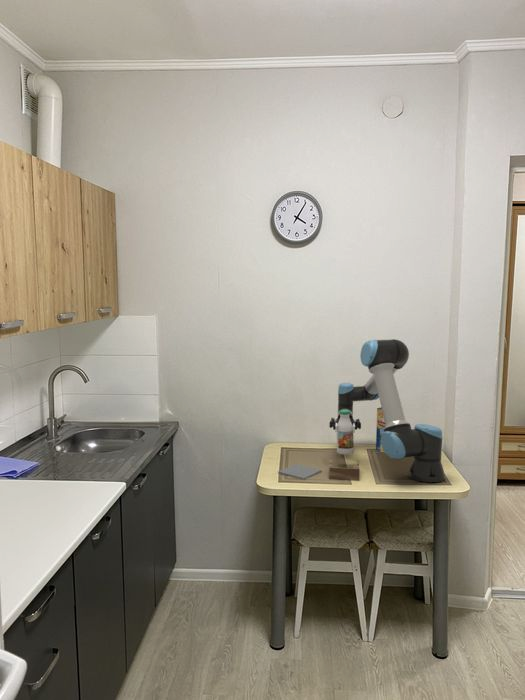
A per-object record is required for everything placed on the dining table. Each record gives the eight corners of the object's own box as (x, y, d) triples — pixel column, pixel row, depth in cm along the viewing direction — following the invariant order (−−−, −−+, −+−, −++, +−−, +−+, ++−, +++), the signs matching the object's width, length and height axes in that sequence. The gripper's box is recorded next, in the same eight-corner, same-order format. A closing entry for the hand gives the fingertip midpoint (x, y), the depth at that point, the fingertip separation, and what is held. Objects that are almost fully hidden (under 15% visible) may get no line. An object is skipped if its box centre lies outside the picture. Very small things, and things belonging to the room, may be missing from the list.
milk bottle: (333, 452, 270) (332, 410, 268) (344, 449, 275) (343, 408, 273) (346, 455, 264) (345, 412, 262) (357, 452, 269) (356, 410, 267)
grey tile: (321, 471, 262) (321, 470, 262) (304, 479, 251) (304, 478, 251) (296, 465, 270) (296, 463, 270) (278, 473, 260) (278, 471, 259)
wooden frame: (329, 469, 264) (330, 459, 264) (358, 471, 263) (358, 460, 262) (329, 478, 253) (329, 467, 252) (359, 480, 251) (359, 469, 250)
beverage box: (384, 448, 300) (385, 406, 297) (401, 453, 291) (403, 410, 288) (375, 450, 295) (377, 408, 293) (392, 455, 287) (394, 412, 284)
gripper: (365, 426, 285) (367, 438, 263) (324, 424, 288) (322, 436, 266) (366, 411, 285) (367, 422, 262) (324, 410, 287) (323, 420, 265)
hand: (345, 429), depth 264 cm, fingers closed on milk bottle, 7 cm apart
